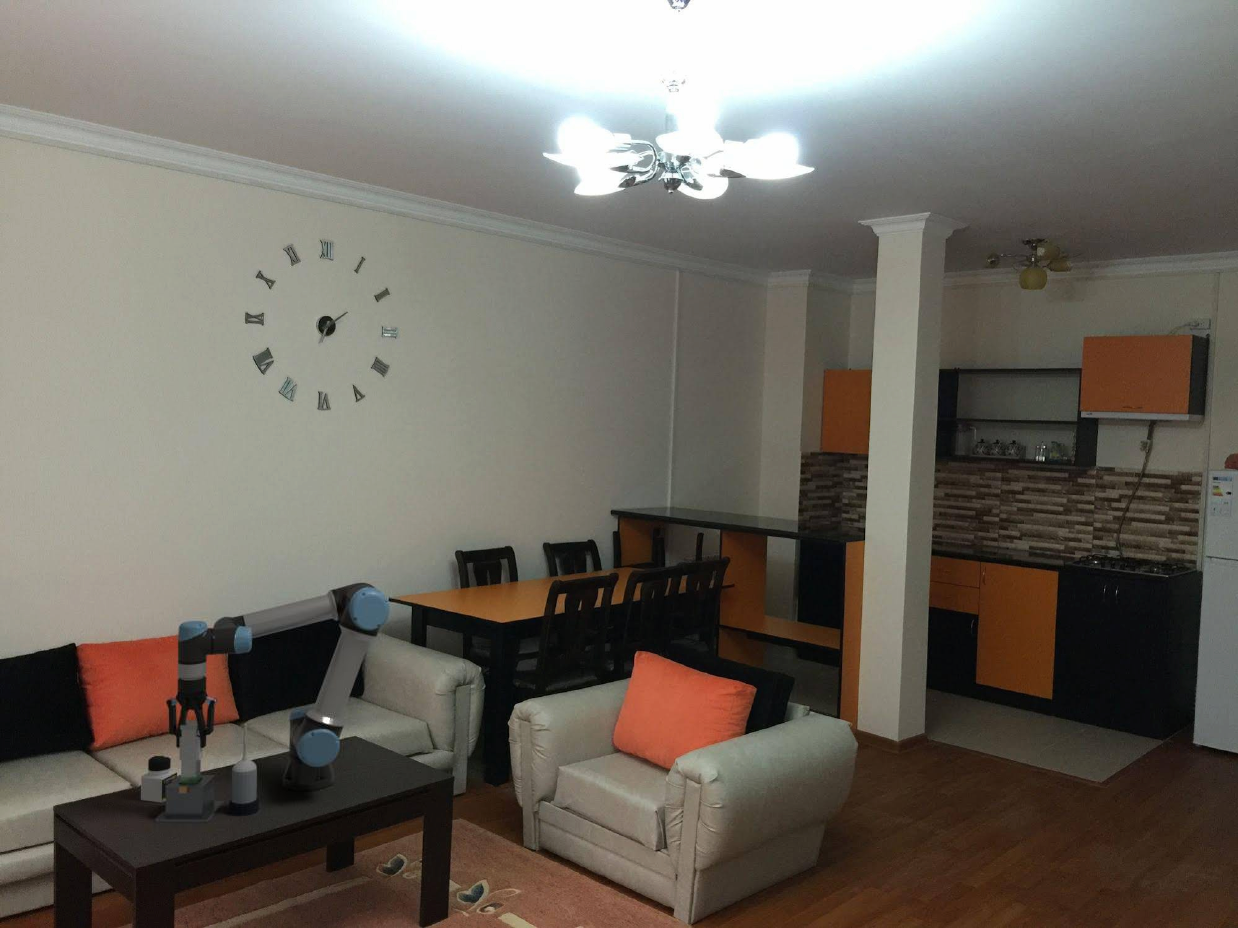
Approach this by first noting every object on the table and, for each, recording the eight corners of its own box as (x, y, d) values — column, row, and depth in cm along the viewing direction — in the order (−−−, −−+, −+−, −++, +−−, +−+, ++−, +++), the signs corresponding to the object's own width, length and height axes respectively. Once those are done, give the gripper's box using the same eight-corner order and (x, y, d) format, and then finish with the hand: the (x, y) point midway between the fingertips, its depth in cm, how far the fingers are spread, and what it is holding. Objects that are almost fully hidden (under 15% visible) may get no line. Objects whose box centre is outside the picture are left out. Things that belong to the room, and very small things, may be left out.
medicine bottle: (162, 802, 298) (162, 761, 297) (140, 800, 299) (140, 759, 299) (177, 794, 305) (178, 754, 304) (156, 791, 306) (156, 752, 306)
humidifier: (260, 804, 299) (262, 719, 298) (256, 815, 291) (258, 727, 290) (231, 805, 297) (232, 720, 296) (226, 816, 289) (227, 728, 288)
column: (201, 794, 293) (202, 720, 293) (195, 800, 289) (197, 725, 288) (185, 793, 293) (186, 720, 292) (179, 799, 289) (180, 725, 288)
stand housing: (223, 803, 299) (224, 771, 298) (207, 822, 285) (207, 788, 284) (174, 803, 298) (174, 771, 297) (155, 821, 284) (155, 788, 283)
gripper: (227, 673, 294) (226, 754, 295) (166, 673, 293) (165, 754, 294) (218, 680, 286) (217, 763, 287) (155, 679, 285) (154, 762, 286)
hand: (191, 758), depth 291 cm, fingers closed on column, 4 cm apart
